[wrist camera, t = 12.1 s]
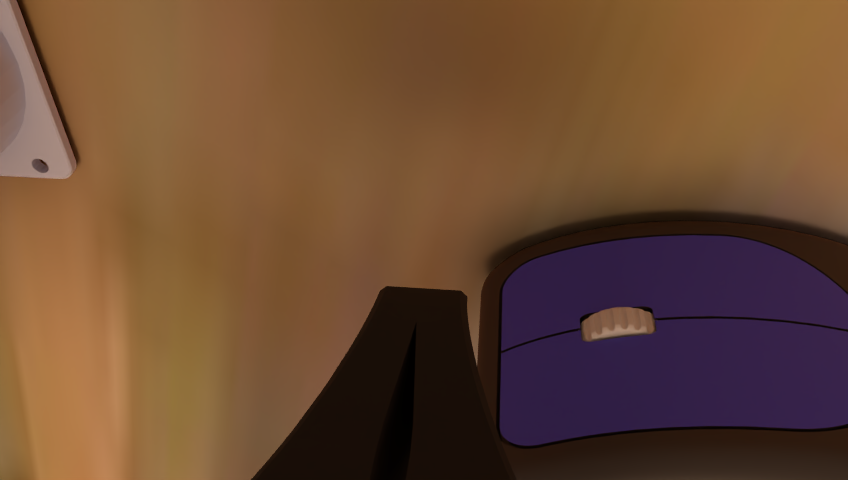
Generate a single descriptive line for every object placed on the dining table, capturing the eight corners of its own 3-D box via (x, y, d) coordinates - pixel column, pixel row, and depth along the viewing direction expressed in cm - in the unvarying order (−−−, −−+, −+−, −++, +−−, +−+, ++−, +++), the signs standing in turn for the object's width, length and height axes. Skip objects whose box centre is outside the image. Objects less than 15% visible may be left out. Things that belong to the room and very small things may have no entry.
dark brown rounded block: (1035, 253, 22) (1295, 555, 15) (947, 354, 25) (1127, 647, 17) (502, 172, 22) (496, 432, 15) (478, 282, 25) (462, 545, 17)
